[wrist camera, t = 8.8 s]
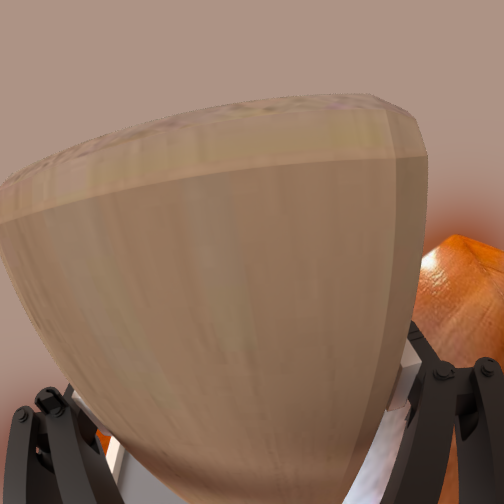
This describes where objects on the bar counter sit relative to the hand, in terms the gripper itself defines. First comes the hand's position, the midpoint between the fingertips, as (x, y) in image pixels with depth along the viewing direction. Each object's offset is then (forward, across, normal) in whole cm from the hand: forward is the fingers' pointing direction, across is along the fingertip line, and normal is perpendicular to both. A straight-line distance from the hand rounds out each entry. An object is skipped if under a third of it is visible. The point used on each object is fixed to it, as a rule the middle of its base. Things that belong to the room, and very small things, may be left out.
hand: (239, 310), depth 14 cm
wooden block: (-3, 0, -11) cm, 12 cm away
